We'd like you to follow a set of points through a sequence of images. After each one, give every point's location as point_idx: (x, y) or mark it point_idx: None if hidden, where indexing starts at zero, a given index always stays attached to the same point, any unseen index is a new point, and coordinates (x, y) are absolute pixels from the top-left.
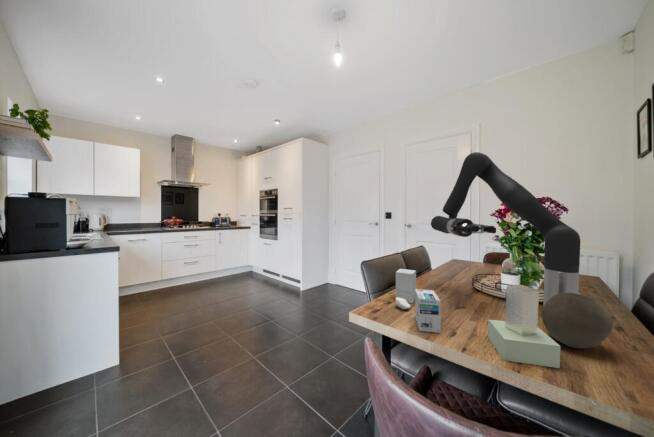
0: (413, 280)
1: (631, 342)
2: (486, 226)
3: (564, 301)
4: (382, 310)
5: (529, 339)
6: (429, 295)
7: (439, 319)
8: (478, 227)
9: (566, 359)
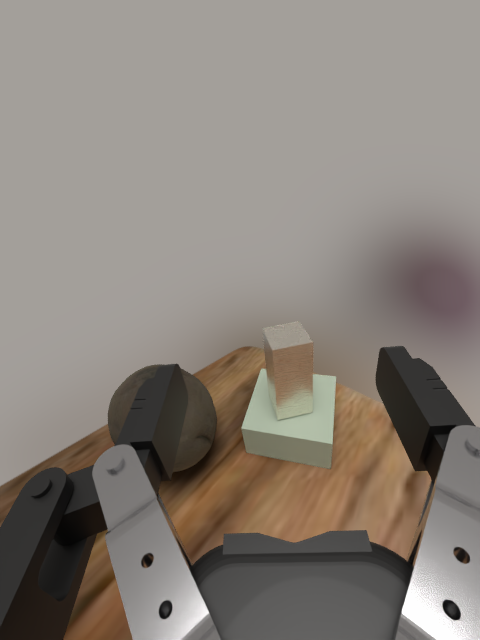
0: None
1: (58, 467)
2: (142, 464)
3: (187, 379)
4: None
5: None
6: None
7: None
8: (198, 560)
9: (235, 410)
